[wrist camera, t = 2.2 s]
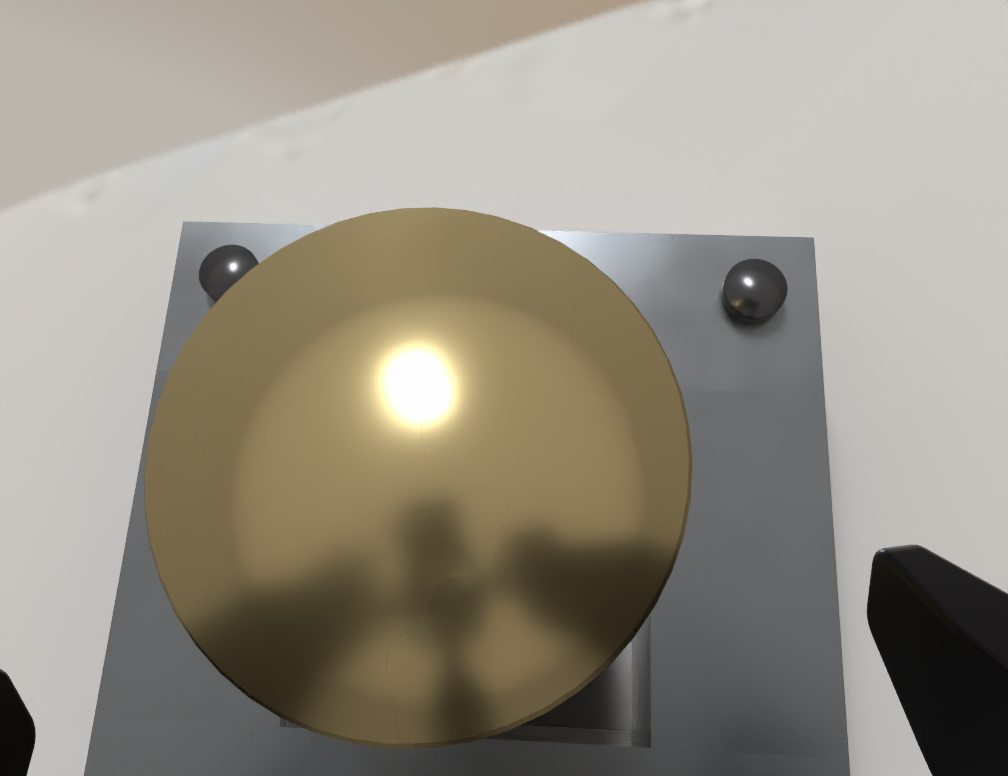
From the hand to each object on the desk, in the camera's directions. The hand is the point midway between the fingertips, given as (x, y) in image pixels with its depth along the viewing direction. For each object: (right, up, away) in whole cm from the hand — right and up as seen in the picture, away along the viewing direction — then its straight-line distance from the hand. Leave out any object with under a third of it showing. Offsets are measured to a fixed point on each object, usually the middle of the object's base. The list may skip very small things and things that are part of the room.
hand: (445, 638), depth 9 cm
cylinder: (0, -1, +10) cm, 10 cm away
